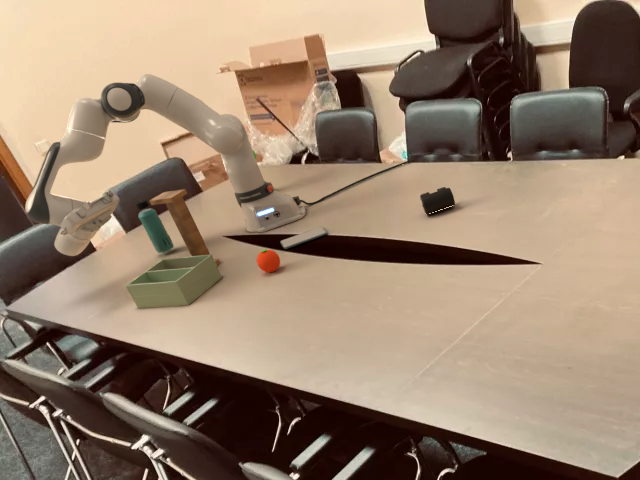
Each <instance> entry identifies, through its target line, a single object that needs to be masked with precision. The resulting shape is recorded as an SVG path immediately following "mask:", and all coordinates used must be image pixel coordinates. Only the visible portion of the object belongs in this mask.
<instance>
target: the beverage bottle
mask: <svg viewBox="0 0 640 480" xmlns="http://www.w3.org/2000/svg"><path fill="white" fill-rule="evenodd" d="M149 206H150V204H149V202H148V201H147V199H143V200H139V201H138V202H136V203H135V207H136V209H137V210H138V211H139V210H140V212H139V213H138V219H139V221H140V223H141V224H142V227H143V229H144V230H145V232H146V235H147V237H148V239H150V242H151V244H152V246H153V248H154V249H155V251H156V252H157V253H158V254H162V253H166V252H169V251H170V250H172V249H173V248H174V247H175V246H174V243H173V240H172V239H171V237H170V235H169V233H168V231H167V230H166V228H165V225H164V223H163V222H162V219H161V218H160V216H159V215H158V213H157V210H156V209H155V208H151V207H150V208H148V207H149Z"/></svg>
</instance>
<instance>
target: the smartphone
mask: <svg viewBox="0 0 640 480" xmlns="http://www.w3.org/2000/svg"><path fill="white" fill-rule="evenodd" d="M326 235H328V232H327V230H325V229H324V227H323V226H318V227H316V228H312V229H310V230H307V231H305V232H302V233H298V234H295V235H293V236H290V237H287V238H285V239H282V240H280V241H279V243H280V245H281V247H282V248H283V249H284V250H288V249H290V248H293V247H296V246H298V245H301V244H305V243H307V242H310V241H312V240H316V239H318V238H321V237H324V236H326Z"/></svg>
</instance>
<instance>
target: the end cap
mask: <svg viewBox="0 0 640 480" xmlns="http://www.w3.org/2000/svg"><path fill="white" fill-rule="evenodd" d="M436 190H437V191H434V192H431V193H430V192H427V191H426V192H424V193H421V194H420V196H419V199H420V201H421V205H422V208H423V211H424V214H425V213H426V214H427V215H426V214H425V215H426V216H427V217H429V216H433V215H436V214H438V213H441V212H445V211H447V210H450V209H453V208H454V207H455V206H456V201H455V197H454V194H453V191H452V189H451V188H450V187H445V186H443V187H439V188H437V189H436ZM452 205H455V206H452ZM449 206H452V207H449ZM446 207H449V208H446ZM444 208H446V209H444ZM440 209H443V210H440ZM438 210H440V211H438ZM435 211H437V212H435ZM432 212H434V213H432ZM429 213H431V214H429Z"/></svg>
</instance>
